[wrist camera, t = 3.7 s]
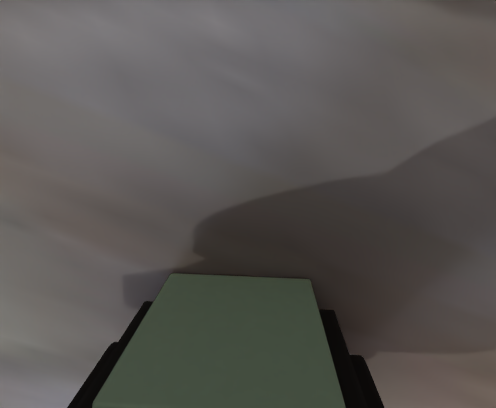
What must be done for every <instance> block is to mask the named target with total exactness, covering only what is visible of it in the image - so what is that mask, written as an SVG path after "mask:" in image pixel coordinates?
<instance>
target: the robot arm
mask: <svg viewBox="0 0 496 408" xmlns="http://www.w3.org/2000/svg"><path fill="white" fill-rule="evenodd" d="M152 304H153V302H150V301H146V302H144V303H143V305H142V306H141V308H140V309H139V311H138V312H137V314H136V316H135V317H134V319H133V320H132V322H131V323H130V325H129V326H128V328H127V329H126V331H125V332H124V334H123V336H122V337H121V339H120V340H119V342H114V343H112V344H111V345H110V346H109V347H108V349H107V350H106V351H105V353H104V354H103V356H102V357H101V359H100V360H99V362H98V363H97V365H96V366H95V368H94V369H93V371H92V372H91V374H90V375H89V376H88V378H87V379H86V381H85V382H84V384H83V385H82V387H81V388H80V390H79V391H78V393H77V394H76V396H75V397H74V399H73V400H72V401H71V403H70V404H69V406H68V407H67V408H92V405H93V401H94V400H95V398H96V396H97V395H98V393H99V391H100V390H101V388H102V387H103V385H104V383H105V382H106V380H107V378H108V377H109V375H110V373H111V372H112V370H113V368H114V367H115V365H116V363H117V362H118V360H119V358H120V357H121V355H122V353H123V352H124V350H125V348H126V347H127V345H128V343H129V342H130V340H131V338H132V337H133V335H134V333H135V332H136V330H137V328H138V327H139V325H140V323H141V322H142V320H143V319H144V317H145V315H146V314H147V312H148V310H149V309H150V307H151V305H152ZM319 313H320V317H321V320H322V324H323V327H324V331H325V335H326V338H327V342H328V345H329V349H330V353H331V356H332V360H333V363H334V367H335V371H336V374H337V378H338V381H339V385H340V389H341V392H342V396H343V400H344V403H345V407H346V408H384V405H383V403H382V401H381V398H380V396H379V393H378V391H377V388H376V386H375V383H374V381H373V379H372V376H371V374H370V371H369V369H368V366H367V364H366V362H365V360H364V358H363V357H362V356H360V355H349V352H348V349H347V346H346V343H345V340H344V338H343V335H342V332H341V329H340V326H339V323H338V321H337V318H336V315H335V312H334V311H333V310H319Z"/></svg>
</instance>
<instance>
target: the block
mask: <svg viewBox="0 0 496 408" xmlns="http://www.w3.org/2000/svg"><path fill="white" fill-rule="evenodd" d="M92 408H346V407H345V403H344V400H343V396H342V392H341V389H340V385H339V381H338V378H337V374H336V371H335V367H334V363H333V360H332V356H331V353H330V349H329V345H328V342H327V338H326V335H325V331H324V327H323V324H322V320H321V317H320V313H319V309H318V306H317V302H316V299H315V295H314V291H313V288H312V284H311V281H310V280H309V279H295V278H271V277H248V276H224V275H201V274H178V273H172V274H170V275H169V277H168V279H167V280H166V282H165V284H164V285H163V287H162V289H161V290H160V292H159V294H158V295H157V297H156V299H155V300H154V302H153V304H152V305H151V307H150V309H149V310H148V312H147V314H146V315H145V317H144V319H143V320H142V322H141V323H140V325H139V327H138V328H137V330H136V332H135V333H134V335H133V337H132V338H131V340H130V342H129V343H128V345H127V347H126V348H125V350H124V352H123V353H122V355H121V357H120V358H119V360H118V362H117V363H116V365H115V367H114V368H113V370H112V372H111V373H110V375H109V377H108V378H107V380H106V382H105V383H104V385H103V387H102V388H101V390H100V391H99V393H98V395H97V396H96V398H95V400H94V401H93V405H92Z"/></svg>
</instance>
